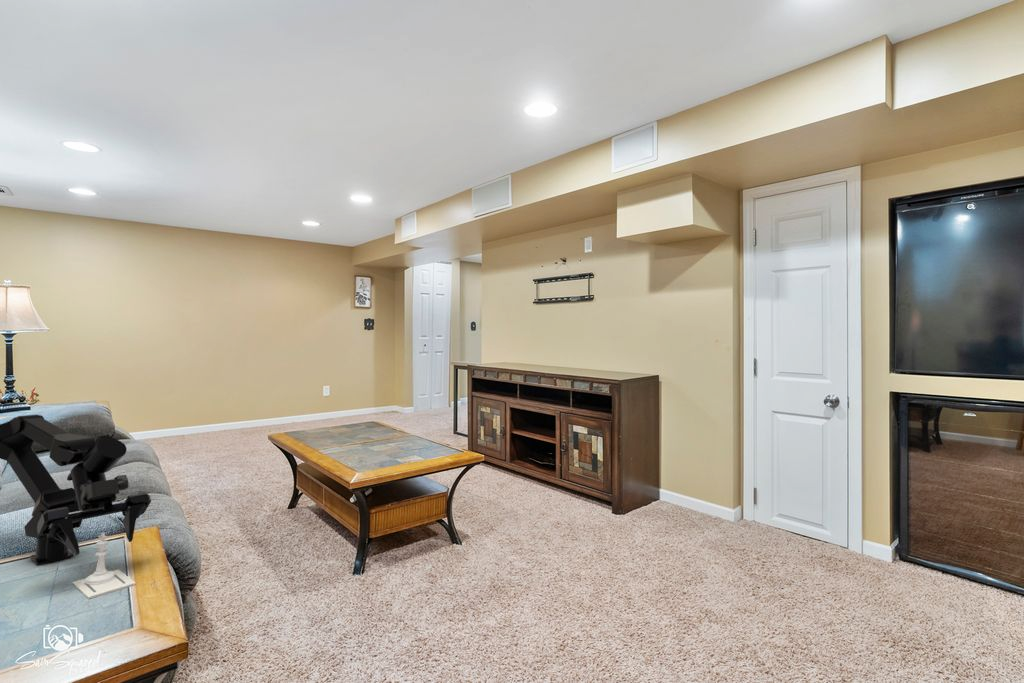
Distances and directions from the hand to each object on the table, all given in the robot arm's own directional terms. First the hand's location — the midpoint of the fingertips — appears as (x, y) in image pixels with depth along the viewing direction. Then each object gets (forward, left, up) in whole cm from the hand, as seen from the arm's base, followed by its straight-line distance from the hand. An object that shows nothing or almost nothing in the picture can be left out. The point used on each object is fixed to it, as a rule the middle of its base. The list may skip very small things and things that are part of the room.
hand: (105, 547), depth 107 cm
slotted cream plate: (+1, 0, -8) cm, 8 cm away
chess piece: (-2, 0, -7) cm, 8 cm away
